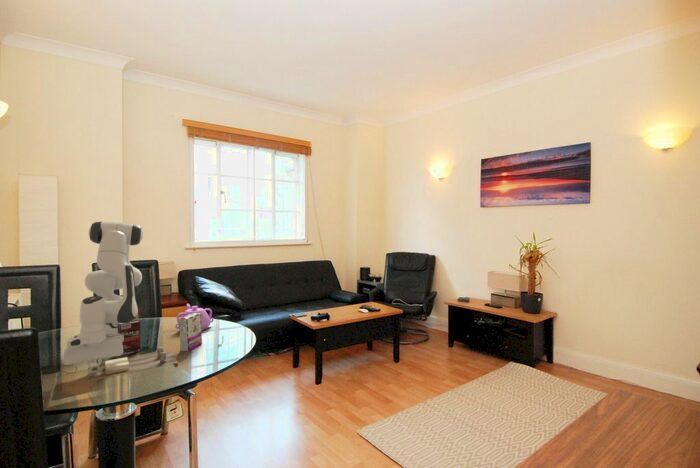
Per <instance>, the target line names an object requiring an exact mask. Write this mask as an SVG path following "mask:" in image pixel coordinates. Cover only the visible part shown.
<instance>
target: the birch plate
mask: <svg viewBox="0 0 700 468" xmlns="http://www.w3.org/2000/svg"><path fill="white" fill-rule="evenodd" d="M104 364H105V369H106V374H111V373H116V372H120V371H125V370H129V362H128V357H127V356H125V357H124V356H123V357H119V358H115V359H108V360H105V361H104Z"/></svg>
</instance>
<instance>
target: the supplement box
mask: <svg viewBox="0 0 700 468" xmlns="http://www.w3.org/2000/svg"><path fill="white" fill-rule="evenodd" d="M118 333H119V334H123V336H124V341H123V342H122V345H123V354H122V355H119V356H124V355H128V354H133V353H137V352H141V322H140V320H138V319H136V320H135V319H134V320H133V321H131V322H130V323H118Z"/></svg>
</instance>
